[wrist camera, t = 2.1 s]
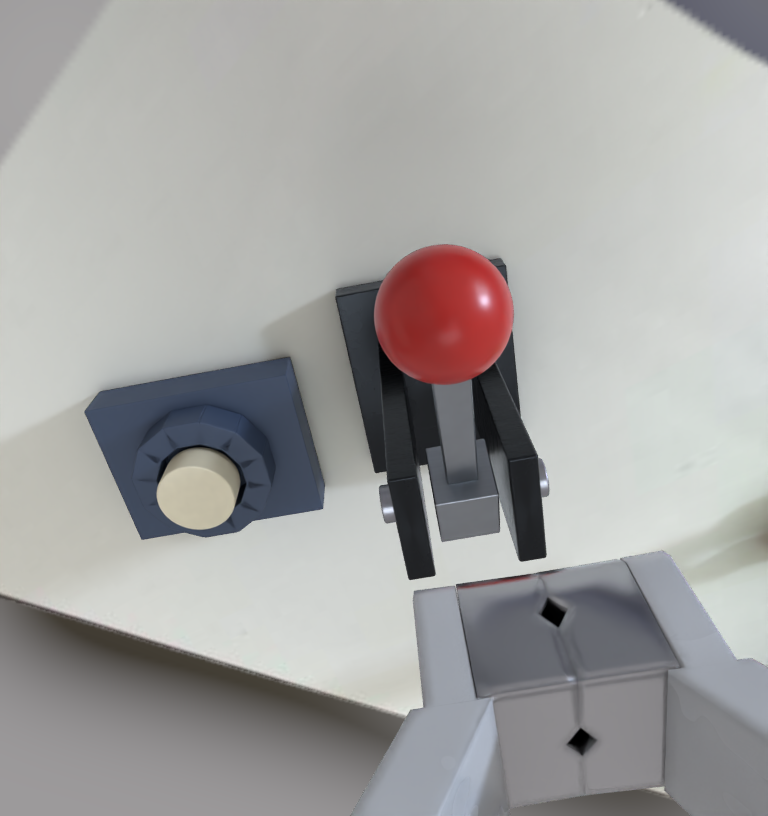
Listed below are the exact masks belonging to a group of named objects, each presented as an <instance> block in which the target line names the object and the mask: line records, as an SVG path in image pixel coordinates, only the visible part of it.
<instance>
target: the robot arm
mask: <svg viewBox="0 0 768 816" xmlns="http://www.w3.org/2000/svg"><path fill="white" fill-rule="evenodd" d="M456 588H457V592H456ZM456 588H455V586H448V587H440V588H432V589H425V590H417V591H414V595H413V607H414V617H415V627H416V637H417V647H418V657H419V667H420V677H421V687H422V697H423V706H424V708H419V709H413V710H410V712H409V713H408V715H407V717H406V719H405V720H404V722H403V724H402V726H401V728H400V729H399V731H398V733H397V734H396V736H395V738H394V740H393V742H392V743H391V745H390V747H389V748H388V750H387V752H386V754H385V755H384V757H383V759H382V761H381V762H380V764H379V766H378V768H377V769H376V771H375V773H374V775H373V777H372V778H371V780H370V782H369V784H368V785H367V787H366V789H365V790H364V792H363V794H362V796H361V797H360V799H359V801H358V803H357V804H356V806H355V808H354V810H353V812H352V813H351V815H350V816H510V810H509V808H515V807H521V806H526V805H532V804H538V803H543V802H549V801H555V800H561V799H566V798H572V797H578V796H584V795H592V794H601V793H610V792H619V791H627V790H636V789H645V788H654V787H662V786H665V791H666V792H667V793H668V794H669V795H670V796H671V797H672V798H673V799H674V800H675V801H676V802H677V803H678V804H679V805H680V806H681V807H682V808H683V809H684V810H685V811H687V813H689V814H690V815H691V816H768V667H766V666H765V665H763V664H761V663H759V662H758V661H756V660H754V659H753V658H748V659H739V660H737V659H736V657H735V656H734V654H733V653H732V651H731V649H730V648H729V646H728V645H727V643H726V642H725V640H724V638H723V637H722V635H721V634H720V632H719V631H718V629H717V628H716V626H715V624H714V623H713V621H712V620H711V618H710V617H709V615H708V613H707V612H706V610H705V609H704V607H703V606H702V604H701V603H700V601H699V599H698V598H697V596H696V595H695V593H694V592H693V590H692V588H691V587H690V585H689V584H688V582H687V581H686V579H685V577H684V576H683V574H682V573H681V571H680V570H679V568H678V567H677V565H676V563H675V562H674V560H673V559H672V557H671V556H670V555H669V554H667V553H666V552H664V551H658V552H652V553H646V554H641V555H635V556H629V557H624V558H620V560H618V559H614V560H609V561H603V562H597V563H591V564H585V565H579V566H574V567H568V568H562V569H556V570H550V571H544V572H538V573H534V574H527V575H520V576H513V577H505V578H498V579H491V580H484V581H476V582H469V583H462V584H456ZM457 595H458V597H457ZM458 601H459V603H458ZM459 607H460V608H459Z"/></svg>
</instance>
